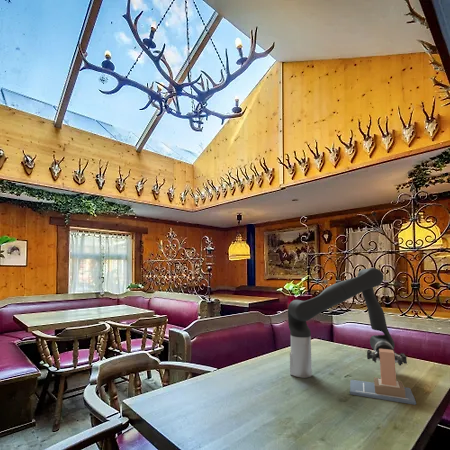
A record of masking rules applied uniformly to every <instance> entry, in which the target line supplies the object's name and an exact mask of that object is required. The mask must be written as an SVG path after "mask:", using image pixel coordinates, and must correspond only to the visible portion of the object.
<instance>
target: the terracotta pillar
mask: <svg viewBox="0 0 450 450" xmlns="http://www.w3.org/2000/svg"><path fill="white" fill-rule="evenodd" d="M394 352H395V350H394V351H393V350H389V349H379V355H380V361H379V367H380V368H379V369H380V370H379V371H380V378H381V383H382V384H385V385H392V386H396V380H397V375H396V371H397V370H396V363H395V356H394Z"/></svg>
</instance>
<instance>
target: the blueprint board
mask: <svg viewBox="0 0 450 450" xmlns="http://www.w3.org/2000/svg"><path fill="white" fill-rule="evenodd" d="M349 385H350V386H349V395H352V396H353V395H354V396H357V397H358V396H359V397H364V398H365V397H366V398H372V399H378V400H384V401H390V402H397V403H402V404H409V405H414V406H415V405H417V402H416V399H415V396H414V394H413V391H412V389H411V388H410V387H405V386H404V384H403V381H402V380H397V379H396V386H392V385H385V384H382V383H381V377H373V382H371V381H365V380H357V379H356V380H355V379H350V384H349Z"/></svg>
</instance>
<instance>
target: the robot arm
mask: <svg viewBox="0 0 450 450" xmlns="http://www.w3.org/2000/svg"><path fill="white" fill-rule="evenodd" d="M384 277H385V276H384V273H383V271H381V269H379V268H374V267H369V268H363V269H361V270H359V271H358V273H357V276H356V277H352V278H348V279H344V280H342V281H338V282H335V283H334V284H331V285H329V286H327V287H326V288H324V290H322V292H320V293H319V294H318V295H317V296H315V297H313V298H312V297H311V298H310V299H307V300H300V299H294V300H292V301H290V303H289V304H288V308H287V323H288V329H289V331H290V332H289V333H290V352H289V369H290V370H289V372H290V373H289V374H290V376H294V377H297V378H303V379H304V378H305V379H306V378H311V377H312V376H313V372H312V371H313V367H312V365H313V363H312V362H313V360H312V337H311V328H309V326H308V324H307V322H308V321H310V320H312V319H314V317H317V315H320V314H321V313H322V312H324V311H326V310H329V309H331V308H333V307H335V306H337V305H340V304H341V303H344V302H346V301H348V300H350V299H351V298H353V297H355V296H357V295H359V294H360V293H362V296H363V299H364V301H365V306H366V308H367V313H368V317H369V323H370V328H371V329H372V330H373V331H378V332H382V334H380V335H379V334H378V335H376V334H375V335H374V334H373V335H372V336H370V338H369V345H370V347H371V349H372V350H373V351H372V350H370V349H367V350H366V357H367V358H366V359H367V360H372V362H374V363H377V361H378V362H380V355H379V349H389V350H393V351H394V356H395V364H396V363H398V366H402V365H403V364H407V363H408V361H407V356H406V354H405V353H403V352H401V353H400V354H398V353H396V351H395V350H394V349H395V347H396V346H395V341H394V339H393V337H392V336H391V333H390V331H389V328H388V326H387V321H386V317H385V312H384V310H383V307H382V306H381V304H380V303H379V301H378V299H377V297H376V295H375V292H374V288H376V287H379V286H380V285H382V284H383V281H384Z"/></svg>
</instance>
